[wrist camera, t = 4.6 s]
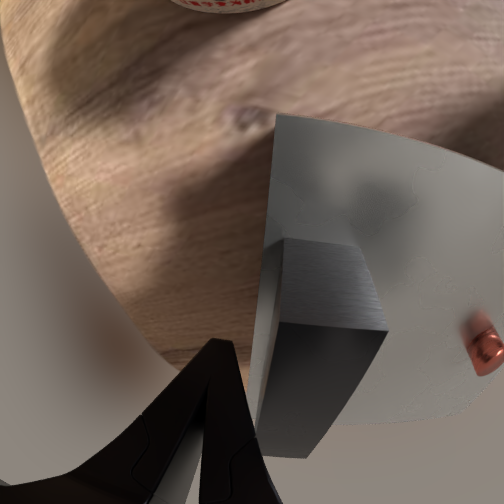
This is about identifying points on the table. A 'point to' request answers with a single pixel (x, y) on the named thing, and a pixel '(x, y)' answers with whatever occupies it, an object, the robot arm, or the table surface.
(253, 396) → the box lid
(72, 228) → the table surface
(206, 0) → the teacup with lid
